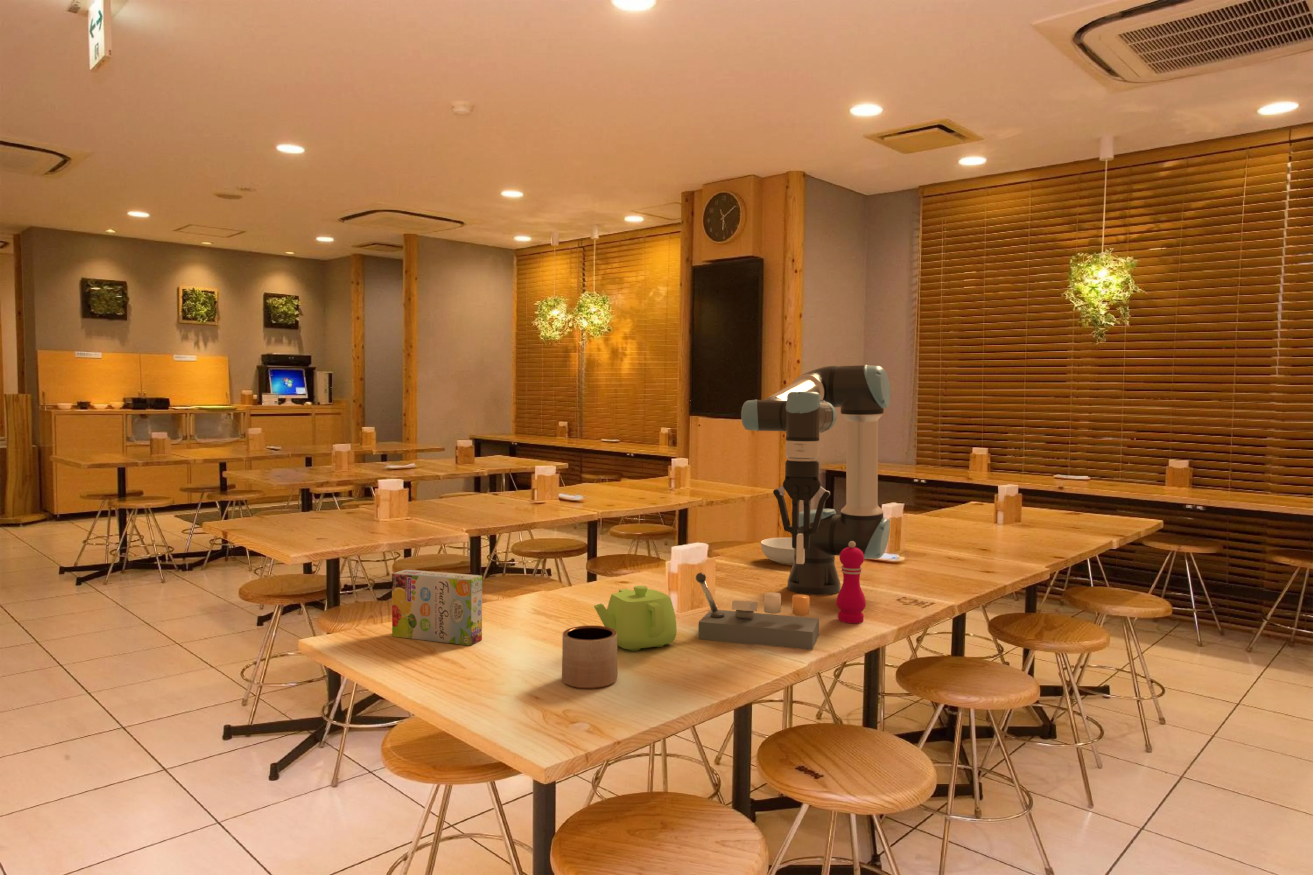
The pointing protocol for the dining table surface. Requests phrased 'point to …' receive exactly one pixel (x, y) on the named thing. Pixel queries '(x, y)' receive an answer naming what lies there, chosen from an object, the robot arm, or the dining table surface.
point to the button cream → (772, 602)
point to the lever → (706, 591)
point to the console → (759, 629)
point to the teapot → (640, 618)
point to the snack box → (437, 606)
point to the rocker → (744, 605)
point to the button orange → (800, 605)
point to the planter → (589, 657)
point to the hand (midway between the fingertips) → (800, 562)
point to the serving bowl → (778, 550)
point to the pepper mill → (851, 586)
